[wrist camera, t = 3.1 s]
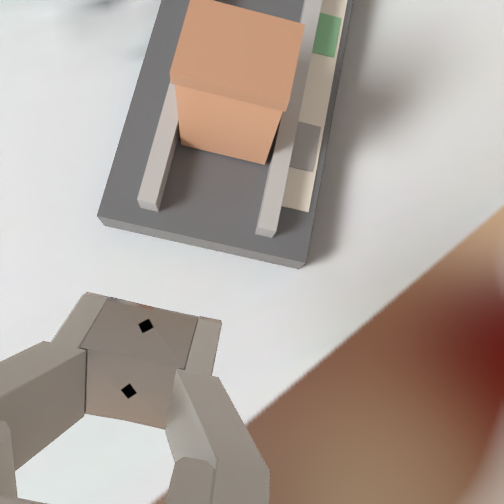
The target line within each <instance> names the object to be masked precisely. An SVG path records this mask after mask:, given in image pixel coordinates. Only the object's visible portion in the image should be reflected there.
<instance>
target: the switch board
mask: <svg viewBox="0 0 504 504" xmlns="http://www.w3.org/2000/svg"><path fill="white" fill-rule="evenodd" d="M214 1H218V2H221V3H225V4H229V5H233V6H237V7H241V8H244V9H248V10H252V11H256V12H260V13H264V14H267V15H271V16H275V17H279V18H283V19H287V20H291V21H294V22H298V23H302V24H305V27H304V32H303V37H302V42H301V46H300V51H299V56H298V61H297V66H296V71H295V75H294V80H293V85H292V90H291V95H290V100H289V103H288V106H287V109H286V112H284V111H283V112H282V115H281V118H280V121H279V124H278V127H277V130H276V133H275V136H274V139H273V142H272V145H271V148H270V151H269V153H268V156H267V159H266V162H265V165H263V164H259V163H255V162H251V161H246V160H242V159H238V158H234V157H230V156H225V155H221V154H217V153H213V152H209V151H205V150H200V149H196V148H192V147H188V146H184V145H181V139H180V130H179V120H178V111H177V101H176V92H175V84H171V80H170V69H171V66H172V62H173V59H174V55H175V51H176V48H177V44H178V41H179V37H180V34H181V30H182V27H183V23H184V20H185V16H186V13H187V9H188V5H189V2H190V0H162V1H161V4H160V8H159V11H158V14H157V18H156V21H155V24H154V28H153V31H152V34H151V38H150V41H149V44H148V48H147V51H146V54H145V58H144V61H143V64H142V68H141V71H140V74H139V78H138V81H137V84H136V88H135V91H134V94H133V98H132V101H131V104H130V108H129V111H128V114H127V118H126V121H125V124H124V128H123V131H122V134H121V138H120V141H119V144H118V148H117V151H116V154H115V158H114V161H113V164H112V168H111V171H110V174H109V177H108V181H107V184H106V187H105V191H104V194H103V197H102V201H101V204H100V207H99V211H98V214H97V217H98V218H99V219H100V220H101V222H102V223H103V224H104V225H105V226H109V227H113V228H118V229H122V230H127V231H131V232H136V233H140V234H145V235H149V236H153V237H158V238H162V239H167V240H171V241H176V242H180V243H185V244H189V245H194V246H198V247H203V248H207V249H211V250H216V251H220V252H225V253H229V254H234V255H238V256H243V257H247V258H252V259H256V260H260V261H265V262H269V263H274V264H278V265H283V266H287V267H292V268H296V269H299V268H301V267H302V266H303V265H304V264H306V261H307V255H308V250H309V244H310V238H311V233H312V227H313V222H314V216H315V211H316V205H317V199H318V194H319V188H320V183H321V177H322V172H323V166H324V160H325V155H326V149H327V144H328V138H329V133H330V127H331V121H332V116H333V110H334V105H335V99H336V94H337V88H338V83H339V77H340V71H341V66H342V60H343V55H344V49H345V44H346V38H347V32H348V27H349V21H350V16H351V10H352V5H353V0H214Z"/></svg>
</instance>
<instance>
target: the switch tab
mask: <svg viewBox="0 0 504 504" xmlns="http://www.w3.org/2000/svg"><path fill="white" fill-rule="evenodd" d="M304 27H305V24H302V23H298V22H294V21H291V20H287V19H283V18H279V17H275V16H271V15H267V14H264V13H260V12H256V11H252V10H248V9H244V8H241V7H237V6H233V5H229V4H225V3H221V2H218V1H214V0H190V2H189V5H188V9H187V13H186V16H185V20H184V23H183V27H182V30H181V34H180V37H179V41H178V44H177V48H176V51H175V55H174V59H173V62H172V66H171V69H170V80H171V84H175V92H176V101H177V111H178V120H179V130H180V139H181V145H184V146H188V147H192V148H196V149H200V150H205V151H209V152H213V153H217V154H221V155H225V156H230V157H234V158H238V159H242V160H246V161H251V162H255V163H259V164H263V165H265V162H266V159H267V156H268V153H269V151H270V148H271V145H272V142H273V139H274V136H275V133H276V130H277V127H278V124H279V121H280V118H281V115H282V112H283V111H284V112H286V109H287V106H288V103H289V100H290V95H291V90H292V85H293V80H294V75H295V71H296V66H297V61H298V56H299V51H300V46H301V42H302V37H303V32H304Z"/></svg>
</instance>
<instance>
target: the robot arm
mask: <svg viewBox="0 0 504 504" xmlns="http://www.w3.org/2000/svg"><path fill="white" fill-rule="evenodd" d="M198 318H199V319H198ZM221 325H222V322H221V320H217V319H212V318H206V317H201V316H194V315H189V314H184V313H179V312H175V311H170V310H165V309H160V308H155V307H151V306H147V305H143V304H139V303H134V302H130V301H126V300H122V299H117V298H113V297H107V296H103V295H99V294H95V293H90V292H86V293H85V294H83V295H82V296H81V298H80V299H79V301H78V302H77V304H76V305H75V307H74V308H73V310H72V311H71V313H70V314H69V316H68V317H67V319H66V320H65V322H64V323H63V325H62V326H61V328H60V329H59V331H58V332H57V334H56V335H55V337H54V338H53V340H52V341H51V343H50V342H45V341H43V342H40V343H38V344H36V345H34V346H32V347H30V348H28V349H26V350H24V351H22V352H20V353H18V354H15V355H13V356H11V357H9V358H7V359H5V360H3V361H1V362H0V504H47V503H42V502H36V501H31V500H26V499H20V498H17V488H16V479H15V471H16V470H17V469H18V468H20V467H21V466H22V465H23V464H25V463H26V462H27V461H28V460H30V459H31V458H32V457H33V456H35V455H36V454H37V453H38V452H40V451H41V450H42V449H44V448H45V447H46V446H47V445H49V444H50V443H51V442H52V441H54V440H55V439H56V438H57V437H59V436H60V435H61V434H62V433H64V432H65V431H66V430H67V429H69V428H70V427H71V426H72V425H74V424H75V423H76V422H77V421H79V420H80V419H81V418H82V417H84V414H90V415H96V416H102V417H108V418H114V419H120V420H125V421H130V422H134V423H139V424H143V425H147V426H152V427H156V428H161V429H165V433H166V436H167V439H168V442H169V446H170V449H171V452H172V455H173V459H174V462H175V466H174V470H173V474H172V478H171V482H170V486H169V490H168V494H167V498H166V502H165V504H269V483H270V471H269V469H268V467H267V466H266V464H265V462H264V460H263V458H262V456H261V455H260V453H259V451H258V449H257V447H256V445H255V443H254V442H253V440H252V438H251V436H250V434H249V432H248V431H247V429H246V427H245V425H244V423H243V421H242V420H241V418H240V416H239V414H238V412H237V410H236V408H235V407H234V405H233V403H232V401H231V399H230V397H229V396H228V394H227V392H226V390H225V388H224V386H223V385H222V383H221V381H220V379H219V377H214V376H212V372H213V367H214V362H215V357H216V351H217V346H218V341H219V336H220V331H221Z"/></svg>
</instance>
